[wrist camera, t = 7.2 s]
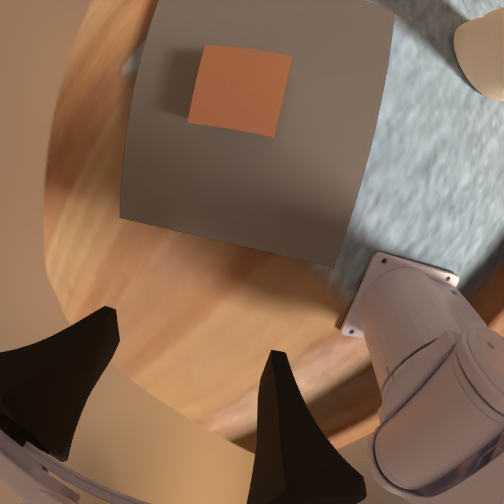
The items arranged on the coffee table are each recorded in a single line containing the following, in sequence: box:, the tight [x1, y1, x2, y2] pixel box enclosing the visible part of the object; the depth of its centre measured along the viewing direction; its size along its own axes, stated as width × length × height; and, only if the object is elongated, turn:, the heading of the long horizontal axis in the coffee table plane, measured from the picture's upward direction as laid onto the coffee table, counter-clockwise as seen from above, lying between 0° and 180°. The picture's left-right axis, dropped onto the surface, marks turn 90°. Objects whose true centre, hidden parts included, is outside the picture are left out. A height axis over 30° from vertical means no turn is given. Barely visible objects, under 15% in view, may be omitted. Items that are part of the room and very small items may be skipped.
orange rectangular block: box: [188, 45, 292, 138], centre depth 13 cm, size 4×4×6 cm
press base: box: [120, 0, 395, 268], centre depth 15 cm, size 15×18×3 cm
